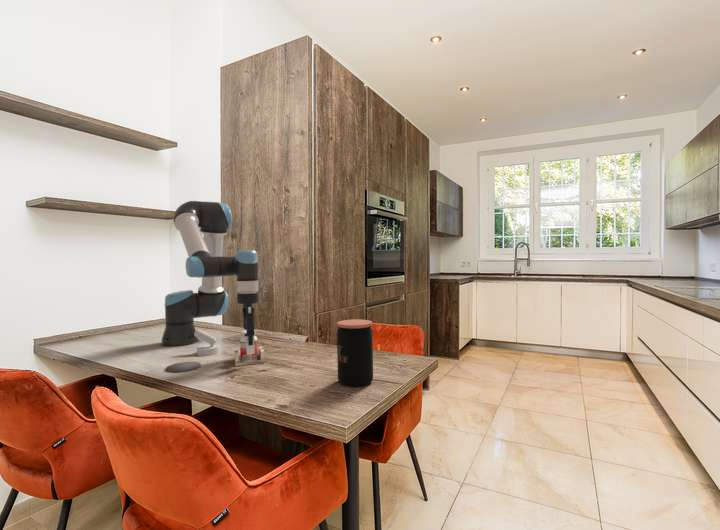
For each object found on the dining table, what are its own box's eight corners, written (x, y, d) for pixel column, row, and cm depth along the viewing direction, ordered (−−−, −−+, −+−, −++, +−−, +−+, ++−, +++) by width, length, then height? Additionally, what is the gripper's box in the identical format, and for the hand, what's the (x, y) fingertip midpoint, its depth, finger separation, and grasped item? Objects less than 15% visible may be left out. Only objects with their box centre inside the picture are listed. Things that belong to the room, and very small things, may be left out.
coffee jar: (337, 377, 120) (336, 319, 119) (371, 375, 121) (370, 318, 120) (338, 388, 109) (337, 325, 109) (375, 387, 110) (374, 324, 110)
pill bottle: (256, 357, 145) (255, 328, 145) (259, 361, 139) (258, 331, 139) (239, 360, 142) (238, 330, 142) (241, 364, 137) (241, 333, 136)
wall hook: (201, 327, 159) (223, 327, 157) (202, 350, 159) (224, 350, 157) (188, 331, 151) (211, 331, 149) (189, 355, 151) (211, 356, 149)
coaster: (168, 365, 136) (168, 363, 136) (201, 362, 140) (201, 360, 140) (164, 374, 126) (163, 372, 126) (200, 370, 130) (200, 368, 130)
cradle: (234, 358, 144) (234, 348, 144) (261, 356, 147) (261, 345, 147) (235, 366, 134) (235, 354, 134) (264, 362, 138) (264, 351, 138)
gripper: (235, 290, 151) (236, 344, 151) (238, 295, 127) (240, 359, 128) (255, 289, 153) (256, 342, 154) (261, 294, 130) (263, 356, 130)
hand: (249, 350), depth 141 cm, fingers open, 13 cm apart
